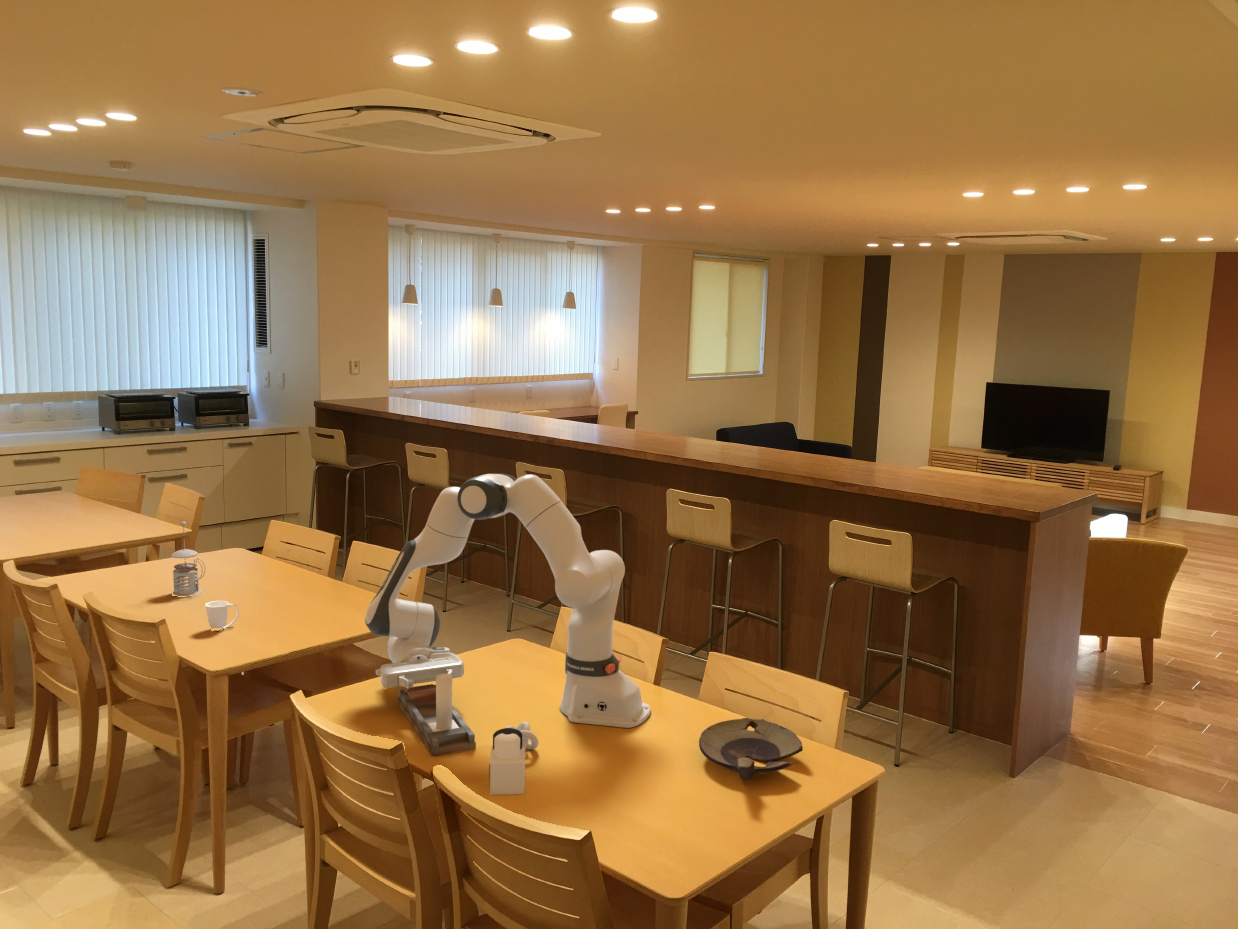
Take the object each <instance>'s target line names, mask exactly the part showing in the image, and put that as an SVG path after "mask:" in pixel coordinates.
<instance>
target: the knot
mask: <svg viewBox="0 0 1238 929" xmlns="http://www.w3.org/2000/svg"><path fill="white" fill-rule="evenodd" d="M505 728H513V729H517V730H519V731H520V732H521V733H522V747H525V751H526V750H535V749H537V748H538V746H539V739H538V737H537V736H536V734H535V733H534V732H532V731H531V726H530V723H529V722H527V721H522V722H520V723H519V725H518V726H517V727H515V726H513V725H507V726H506V727H505ZM529 740H530V741H531V742H530V741H529Z"/></svg>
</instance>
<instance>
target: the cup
mask: <svg viewBox="0 0 1238 929" xmlns="http://www.w3.org/2000/svg"><path fill="white" fill-rule="evenodd" d="M204 605H205V606H204V607H205V610H206V615H207V620H208V623H209V627H210V629H211V628H212V629H213V628H222V629H220V630H223V629H225V630H226V628H225V627H228V628H229V627H230V626H232V625H233V624H234V623H235V622H236V621H237V620H238V618H239V616H240V615H239V614H240V611H239V609H238V608H239V607H238V606H237V605H236V604H234V603H230V602H229V601H227V600H212V601H209V602H206V603H205V604H204ZM232 606H234V608H235V611H236V615H235V617H234V619H232V621H231V622H230V623H228V624H227V620H228V614H229V607H232ZM214 631H218V630H214ZM223 631H224V630H223Z"/></svg>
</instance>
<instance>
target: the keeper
mask: <svg viewBox="0 0 1238 929" xmlns="http://www.w3.org/2000/svg"><path fill="white" fill-rule="evenodd" d="M435 685H436V722H435V723H429V724H428V726H429V727H430V729H431V730H432V732H436V731H442V730H448V729H454V728H459V727H458V725H457V724H456V723H455V721H454V720H452V706H453V678H452V675H450V674H439V675H437V676H436V681H435Z"/></svg>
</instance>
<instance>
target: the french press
mask: <svg viewBox="0 0 1238 929" xmlns="http://www.w3.org/2000/svg"><path fill="white" fill-rule="evenodd" d="M186 525H187V522H186V521H181V522H180V526H183V528H182V529H183V531H182V532H183V534H185V526H186ZM185 544H186V542H185V539H183V549H180V550H177V551H174V552H173V553H172V554H171V557H172V558H175V559H189V558H194V557H197V555H199V553H198V552H197V551H196V550H193V549H188V548H186V546H185ZM197 563H199V564H198V565H200V567H201V575H200V576H199V569H198V568H197V566H198V565H197ZM201 563H202V564H201ZM202 565H203V566H204V567H203V566H202ZM173 568H174V569H173V570H172V573H173V574H172V576H173V594H174V595H177V596H190V595H195V594H199V593H200V592H201V591H202V590H201V589H200V587H199V581H200V579H203V577H205V574H206V566H205V562H204V561H203V560H202V559H201V558H199V557H197V558H195V559H193V562H190V563H189V562H183V563H177V564H175V565H174V566H173ZM203 568H204V571H203Z"/></svg>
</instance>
